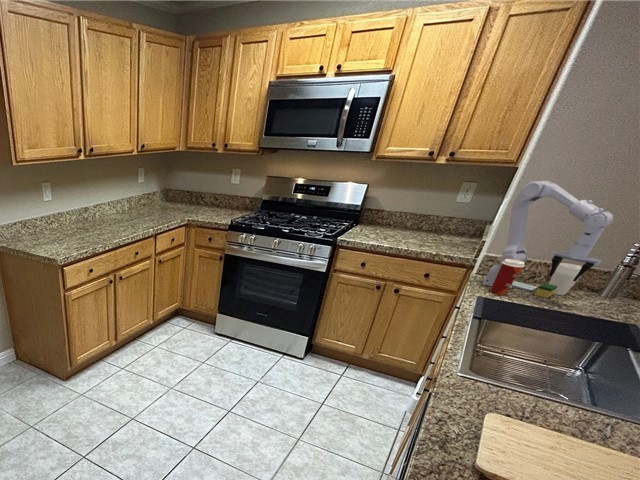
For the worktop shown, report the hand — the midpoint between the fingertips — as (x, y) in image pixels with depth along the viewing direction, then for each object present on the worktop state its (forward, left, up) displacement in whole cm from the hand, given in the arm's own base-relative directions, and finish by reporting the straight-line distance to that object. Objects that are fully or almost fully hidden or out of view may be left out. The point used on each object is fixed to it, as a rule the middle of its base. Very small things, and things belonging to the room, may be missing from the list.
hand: (562, 278), depth 170 cm
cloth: (-14, +13, -10) cm, 22 cm away
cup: (-2, +18, -11) cm, 21 cm away
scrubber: (-4, +9, -10) cm, 14 cm away
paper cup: (-16, -7, -11) cm, 20 cm away
